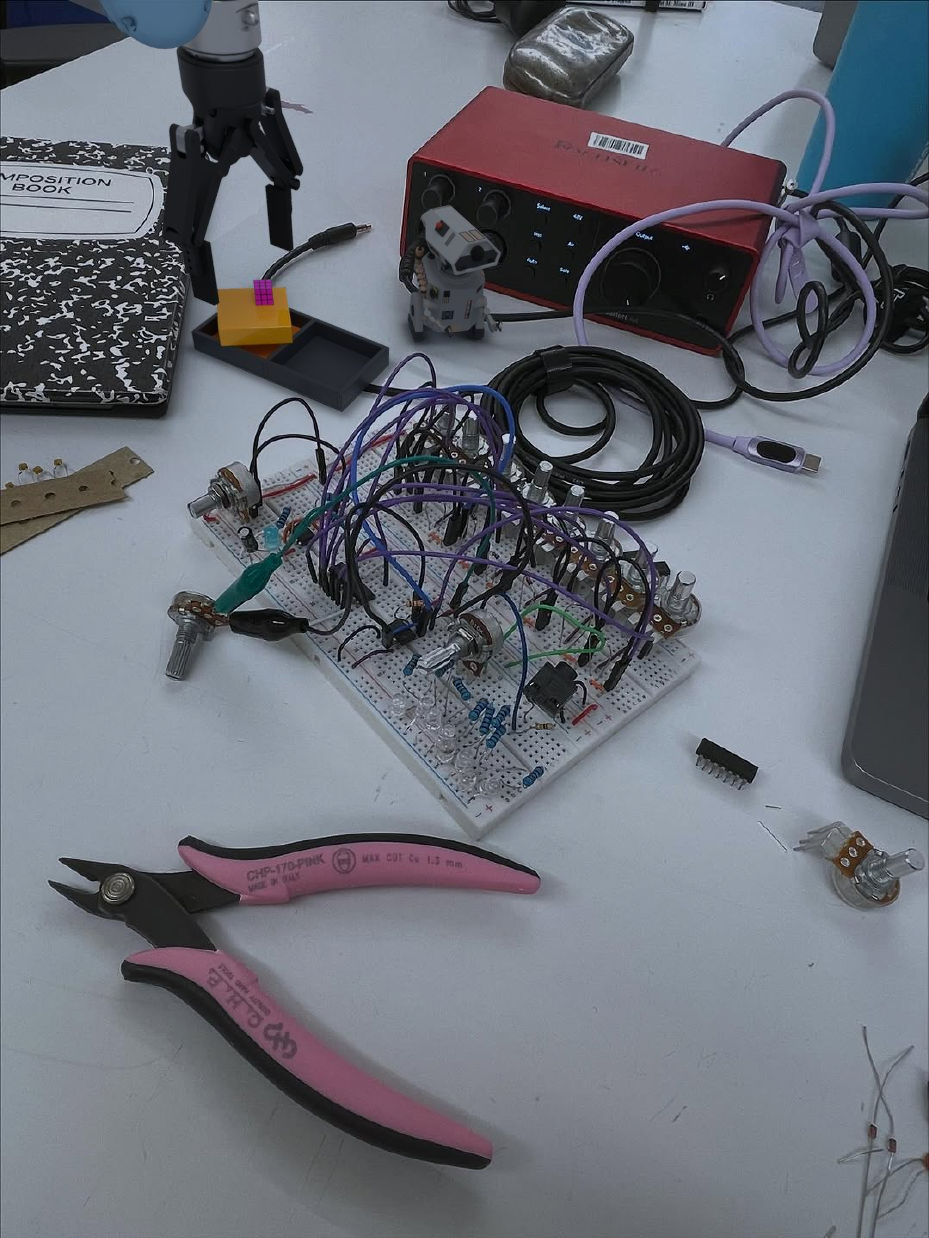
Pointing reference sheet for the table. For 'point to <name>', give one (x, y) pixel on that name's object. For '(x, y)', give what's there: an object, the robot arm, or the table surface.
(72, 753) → the table surface
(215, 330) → the divided tray
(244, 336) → the orange box
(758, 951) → the table surface
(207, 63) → the robot arm
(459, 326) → the figurine
